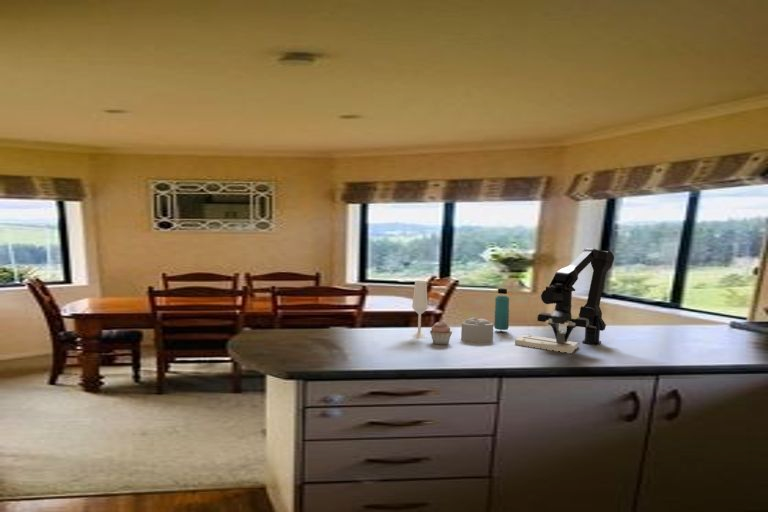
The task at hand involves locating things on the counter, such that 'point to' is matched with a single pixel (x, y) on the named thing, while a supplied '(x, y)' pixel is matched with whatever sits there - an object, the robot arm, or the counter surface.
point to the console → (546, 343)
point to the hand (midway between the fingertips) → (561, 340)
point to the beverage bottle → (501, 310)
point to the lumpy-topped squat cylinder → (477, 330)
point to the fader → (561, 337)
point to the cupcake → (440, 333)
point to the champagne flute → (420, 304)
